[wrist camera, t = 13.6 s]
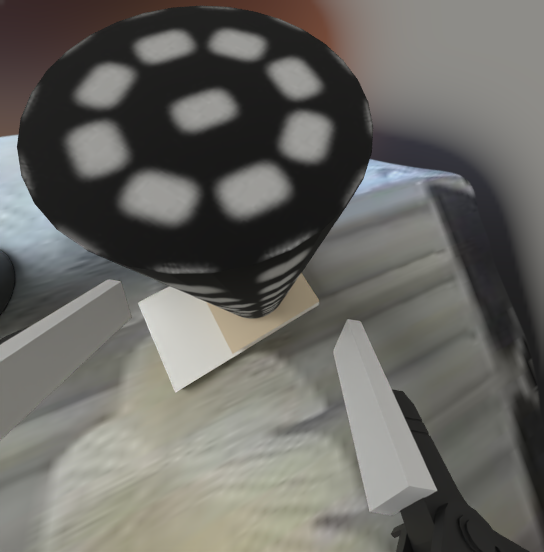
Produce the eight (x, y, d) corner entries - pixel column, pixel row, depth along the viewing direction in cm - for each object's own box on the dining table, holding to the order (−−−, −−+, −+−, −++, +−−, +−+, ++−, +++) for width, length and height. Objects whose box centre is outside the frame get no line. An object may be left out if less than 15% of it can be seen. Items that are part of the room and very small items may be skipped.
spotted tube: (237, 331, 23) (77, 361, 3) (207, 271, 24) (-15, 54, 5) (298, 297, 24) (443, 170, 5) (265, 242, 26) (270, -20, 6)
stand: (144, 303, 28) (116, 298, 23) (273, 236, 32) (275, 218, 27) (180, 388, 26) (158, 404, 20) (316, 305, 29) (328, 300, 24)
